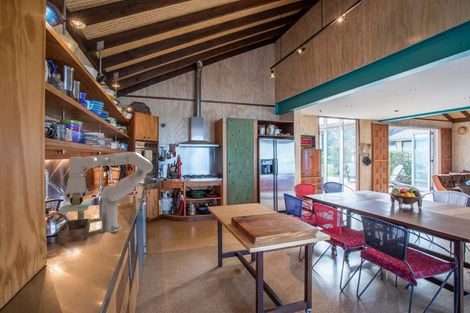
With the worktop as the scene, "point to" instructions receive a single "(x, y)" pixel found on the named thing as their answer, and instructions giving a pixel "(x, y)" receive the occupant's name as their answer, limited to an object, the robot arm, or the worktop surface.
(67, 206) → the lid
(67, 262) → the worktop surface
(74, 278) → the worktop surface
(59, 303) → the worktop surface
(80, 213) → the block
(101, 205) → the coffee box
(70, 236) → the brown open box
